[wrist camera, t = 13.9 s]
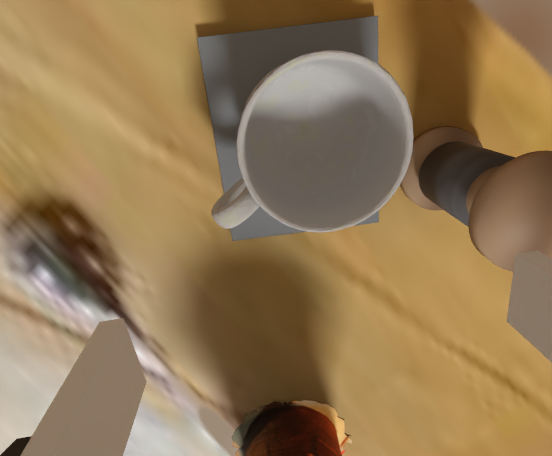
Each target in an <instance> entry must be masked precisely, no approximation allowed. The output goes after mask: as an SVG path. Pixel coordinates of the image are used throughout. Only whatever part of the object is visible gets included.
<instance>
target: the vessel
mask: <svg viewBox="0 0 552 456" xmlns="http://www.w3.org/2000/svg"><path fill="white" fill-rule="evenodd" d="M337 415H338V413H337V412H336V410H335V409H334V408H332V407H330V406H329V405H328V404H320V403H318V402H316V401H308V400H302V401H292V402H290V403H286V402H285V403H284V404H283V405H282V404H281V403H278V402H273V403H271V404H269V405H266V406H262V407H259V410H256V411H253V412H251V413H250V414H246V415H245V419H244V423H243V424H242V425H241V426H240V427H239V428H238V429H237V430H236V431H235V432H234V434H233V436H232V440H233V447H236V448H239V449H238V451H237V452H236V453H235V455H236V456H342V454H343V453H344V452H345V450H344V449H343V446H344V444H345V443H347V442H349V443H351V442H352V441H351V440H350V439H349V437H348V436H346V435H345V434H344V420H342V419H340V418H338V417H337Z"/></svg>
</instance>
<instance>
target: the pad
mask: <svg viewBox="0 0 552 456" xmlns="http://www.w3.org/2000/svg"><path fill="white" fill-rule="evenodd" d="M197 41H198V46H199V52H200V58H201V63H202V69H203V75H204V81H205V86H206V92H207V98H208V103H209V109H210V115H211V121H212V126H213V132H214V138H215V143H216V149H217V155H218V160H219V166H220V172H221V178H222V183H223V189H224V194H225V193H226V192H227V191H228V190H229V189H230V188H231V187H232V186H233V185H234V184H235V183H236V182H238V181H239V180H240V179H241V178H242V176H241V173H240V169H239V165H238V161H237V151H236V143H237V133H238V127H239V123H240V120H241V116H242V112H243V109H244V106H245V104H246V102H247V100H248V98H249V96H250V94H251V93H252V91H253V90H254V88H255V87H256V86H257V84H258V83H259V82H260V81H261V80H262V79H263V78H264V77H265V76H266V75H267V74H268V73H269V72H271V71H272V70H274V69H275V68H276V67H278V66H280V65H282V64H284V63H285V62H287V61H289V60H291V59H293V58H295V57H298V56H300V55H303V54H306V53H310V52H316V51H323V50H338V51H345V52H350V53H354V54H358V55H361V56H363V57H365V58H368V59H370V60H372V61H373V62H375V63H377V64H378V16H371V17H363V18H355V19H346V20H338V21H330V22H322V23H313V24H305V25H297V26H289V27H280V28H272V29H264V30H256V31H247V32H239V33H231V34H222V35H214V36H206V37H198V38H197ZM377 222H379V210H378V211H377V212H376V213H374V214H373V215H371V216H370V217H368V218H367V219H365V220H364V221H362V222H360V223H358V224H356V225H362V224H369V223H377ZM353 226H354V225H353ZM230 229H231V235H232V240H233V241H236V240H244V239H252V238H260V237H268V236H275V235H283V234H291V233H299V232H307V231H303V230H298V229H295V228H292V227H289V226H287V225H285V224H283V223H281V222H279V221H278V220H276V219H275V218H273V217H272V216H270V215H269V214H268V213H266V212H265V211H264V210H263V209H262V208H261V207H260V206H259V207H258V209H257V210H256V211H255V212H254V213H253V214H252V215H251V216H250V217H248V218H247V219H246V220H245V221H243V222H242V223H240V224H239V225H237V226H235V227H233V228H230Z"/></svg>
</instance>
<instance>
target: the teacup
mask: <svg viewBox="0 0 552 456" xmlns="http://www.w3.org/2000/svg"><path fill="white" fill-rule="evenodd" d="M412 150H413V123H412V116H411V112H410V108H409V105H408V102H407V99H406V96H405V95H404V93H403V91H402V90H401V88H400V86H399V85H398V84H397V82H396V81H395V80H394V78H393V77H392V76H391V75H390V74H389V73H388V72H387V71H386V70H385V69H384V68H383V67H381V66H380V65H379V64H377V63H375V62H373V61H372V60H370V59H368V58H365V57H363V56H361V55H358V54H354V53H350V52H345V51H338V50H323V51H316V52H310V53H306V54H303V55H300V56H298V57H295V58H293V59H291V60H289V61H287V62H285V63H284V64H282V65H280V66H278V67H276V68H275V69H274V70H272V71H271V72H269V73H268V74H267V75H266V76H265V77H264V78H263V79H262V80H261V81H260V82H259V83H258V84H257V86H256V87H255V88H254V90H253V91H252V93H251V94H250V96H249V98H248V100H247V102H246V104H245V106H244V109H243V112H242V116H241V120H240V123H239V127H238V133H237V143H236V151H237V161H238V165H239V169H240V173H241V176H242V178H241V179H240V180H239V181H238V182H236V183H235V184H234V185H233V186H232V187H231V188H230V189H229V190H228V191H227V192H226V193H225V194H224V195H223V196H222V197H221V198H220V199H219V200H218V201H217V202H216V203H215V205H214V206H213V209H212V216H213V218H214V220H215V221H216V222H217V223H218V224H219V225H220V226H221V227H223V228H226V229H230V228H233V227H235V226H237V225H239V224H240V223H242V222H243V221H245V220H246V219H247V218H248V217H250V216H251V215H252V214H253V213H254V212H255V211H256V210H257V209H258V207H259V206H260V207H261V208H262V209H263V210H264V211H265V212H266V213H268V214H269V215H270V216H272V217H273V218H275V219H276V220H278V221H279V222H281V223H283V224H285V225H287V226H289V227H292V228H295V229H298V230H303V231H308V232H331V231H337V230H340V229H344V228H347V227H350V226H353V225H356V224H358V223H360V222H362V221H364V220H365V219H367V218H368V217H370V216H371V215H373V214H374V213H376V212H377V211H378V210H379V209H380V208H381V207H383V206H384V205H385V203H386V202H387V201H388V200H389V199H390V198H391V197H392V196H393V194H394V193H395V191H396V190H397V188H398V187H399V185H400V184H401V182H402V180H403V178H404V176H405V174H406V171H407V169H408V166H409V163H410V159H411V155H412Z"/></svg>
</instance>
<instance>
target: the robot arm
mask: <svg viewBox="0 0 552 456" xmlns="http://www.w3.org/2000/svg"><path fill="white" fill-rule="evenodd" d="M507 322H508V323H509V324H510V325H511V326H512V327H514V328H515V329H516V330H517V331H518V332H519V333H520V334H521V335H522V336H523V337H524V338H526V339H527V340H528V341H529V342H530V343H531V344H532V345H533V346H534V347H535V348H536V349H538V350H539V351H540V352H541V353H542V354H543V355H544V356H545V357H546V358H547V359H548V360H550V361H551V362H552V258H550V257H549V256H547V255H545V254H543V253H542V252H540V251H538V250H537V251H531V252H525V253H519V254H516V257H515V264H514V271H513V279H512V286H511V293H510V301H509V308H508V316H507ZM145 385H146V379H145V376H144V374H143V371H142V368H141V365H140V363H139V360H138V357H137V355H136V352H135V349H134V346H133V344H132V341H131V338H130V335H129V333H128V330H127V327H126V324H125V322H124V319H123V318H121V319H115V320H109V321H103V322H99V324H98V326H97V327H96V329H95V331H94V332H93V334H92V336H91V337H90V339H89V341H88V343H87V344H86V346H85V348H84V349H83V351H82V353H81V354H80V356H79V358H78V359H77V361H76V363H75V364H74V366H73V368H72V370H71V371H70V373H69V375H68V376H67V378H66V380H65V381H64V383H63V385H62V386H61V388H60V390H59V391H58V393H57V395H56V397H55V398H54V400H53V402H52V403H51V405H50V407H49V408H48V410H47V412H46V413H45V415H44V417H43V418H42V420H41V422H40V423H39V425H38V427H37V429H36V430H35V432H34V434H33V435H32V436H31V437H25V438H19V439H16V440H15V441H14V442H13V443H12V444H11V445H10V446H9V447H8V448H7V449H6V450H5V451H4V452H3V453H2V454H1V455H0V456H123V453H124V450H125V447H126V444H127V441H128V438H129V435H130V432H131V428H132V425H133V422H134V419H135V416H136V413H137V410H138V407H139V403H140V400H141V397H142V394H143V391H144V388H145Z"/></svg>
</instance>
